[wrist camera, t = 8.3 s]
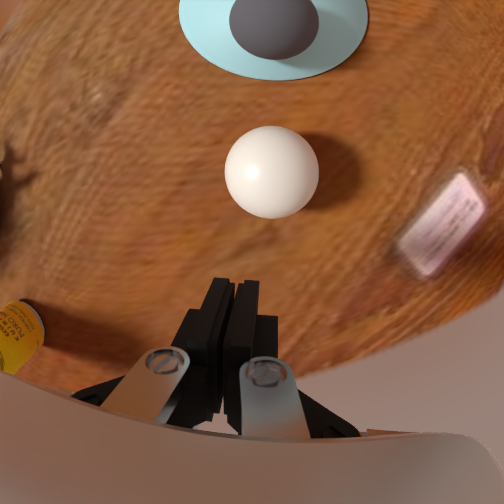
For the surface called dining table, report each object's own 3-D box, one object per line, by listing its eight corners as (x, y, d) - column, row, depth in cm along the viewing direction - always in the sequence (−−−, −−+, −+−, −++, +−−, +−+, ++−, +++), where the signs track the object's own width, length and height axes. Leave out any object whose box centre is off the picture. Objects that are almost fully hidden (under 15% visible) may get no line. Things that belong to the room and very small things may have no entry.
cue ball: (249, 250, 17) (250, 206, 21) (341, 214, 15) (321, 176, 20) (200, 167, 14) (214, 140, 18) (304, 120, 13) (291, 105, 17)
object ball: (256, 75, 18) (261, 16, 17) (331, 69, 15) (330, 5, 14) (205, 48, 14) (216, -18, 12) (295, 29, 11) (296, -40, 10)
